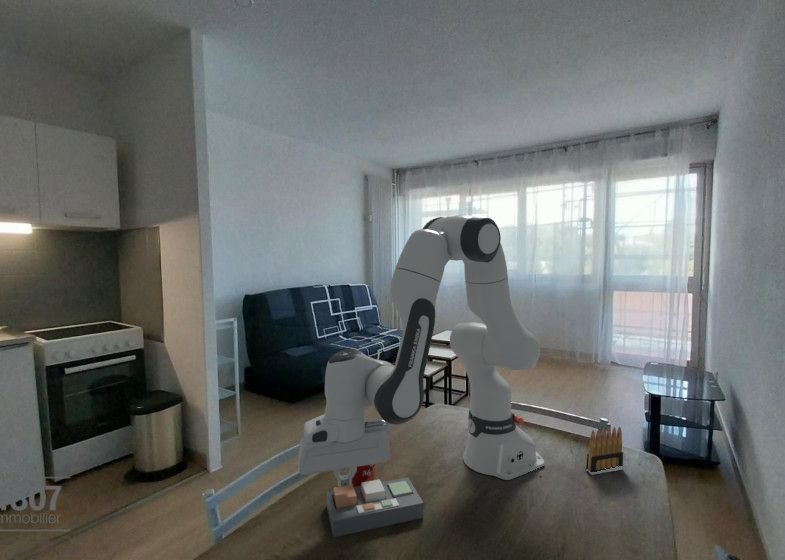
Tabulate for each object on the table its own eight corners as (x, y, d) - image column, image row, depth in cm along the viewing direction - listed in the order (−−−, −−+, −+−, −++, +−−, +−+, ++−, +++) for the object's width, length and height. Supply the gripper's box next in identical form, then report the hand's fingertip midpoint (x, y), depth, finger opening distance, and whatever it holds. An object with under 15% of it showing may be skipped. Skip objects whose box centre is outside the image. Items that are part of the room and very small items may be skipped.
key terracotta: (352, 494, 88) (352, 484, 87) (356, 506, 83) (356, 495, 83) (333, 497, 86) (333, 487, 86) (336, 510, 82) (336, 499, 82)
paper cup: (373, 495, 92) (374, 439, 91) (343, 491, 93) (343, 436, 92) (381, 476, 100) (381, 425, 99) (353, 473, 101) (353, 422, 100)
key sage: (405, 490, 92) (405, 480, 91) (411, 501, 87) (412, 491, 87) (388, 493, 90) (388, 483, 90) (393, 505, 86) (393, 495, 86)
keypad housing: (407, 490, 94) (408, 475, 93) (423, 517, 84) (423, 500, 84) (326, 506, 88) (326, 489, 87) (333, 537, 78) (333, 518, 78)
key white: (379, 489, 89) (379, 479, 89) (384, 500, 85) (385, 490, 85) (361, 492, 88) (361, 482, 88) (365, 504, 84) (365, 494, 84)
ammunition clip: (590, 475, 101) (592, 432, 100) (585, 471, 103) (587, 429, 102) (623, 470, 104) (625, 427, 103) (617, 466, 106) (619, 424, 105)
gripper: (386, 413, 90) (385, 469, 90) (296, 424, 83) (297, 484, 84) (394, 425, 84) (393, 485, 85) (298, 437, 77) (299, 502, 78)
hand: (344, 485), depth 84 cm, fingers closed
